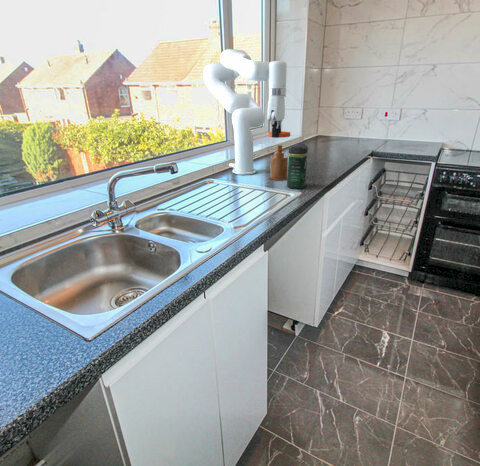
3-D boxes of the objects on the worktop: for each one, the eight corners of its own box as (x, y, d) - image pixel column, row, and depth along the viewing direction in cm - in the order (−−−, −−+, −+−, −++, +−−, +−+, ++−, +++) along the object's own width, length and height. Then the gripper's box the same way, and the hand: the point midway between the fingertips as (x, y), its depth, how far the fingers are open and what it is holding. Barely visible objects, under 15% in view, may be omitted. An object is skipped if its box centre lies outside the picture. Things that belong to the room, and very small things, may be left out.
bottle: (267, 179, 159) (267, 145, 153) (273, 175, 166) (274, 143, 160) (283, 181, 156) (284, 146, 149) (289, 177, 163) (290, 144, 156)
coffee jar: (302, 190, 142) (305, 146, 135) (285, 188, 145) (286, 145, 137) (307, 184, 150) (309, 142, 143) (290, 183, 153) (292, 142, 145)
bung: (265, 137, 150) (265, 133, 150) (273, 134, 158) (273, 131, 158) (285, 137, 147) (286, 134, 146) (292, 135, 155) (292, 131, 154)
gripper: (275, 93, 150) (275, 134, 157) (261, 93, 137) (261, 139, 144) (291, 92, 147) (289, 135, 154) (278, 93, 134) (277, 139, 141)
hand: (276, 136), depth 149 cm, fingers closed on bung, 2 cm apart
